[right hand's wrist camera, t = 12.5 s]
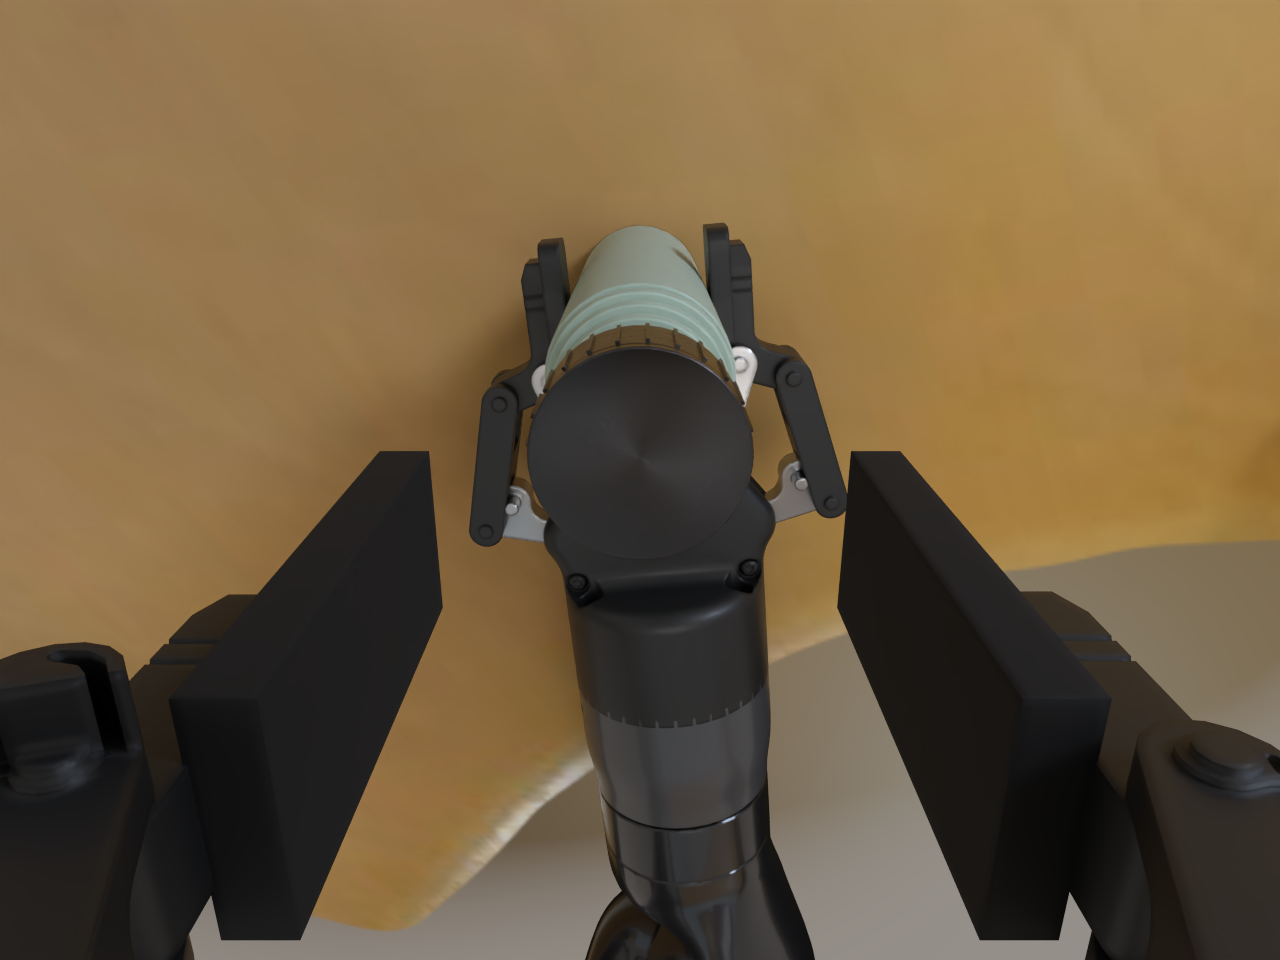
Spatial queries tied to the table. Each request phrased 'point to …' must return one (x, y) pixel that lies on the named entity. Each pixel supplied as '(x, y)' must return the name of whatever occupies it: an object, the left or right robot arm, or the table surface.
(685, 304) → the bottle
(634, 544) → the cap
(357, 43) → the table surface
